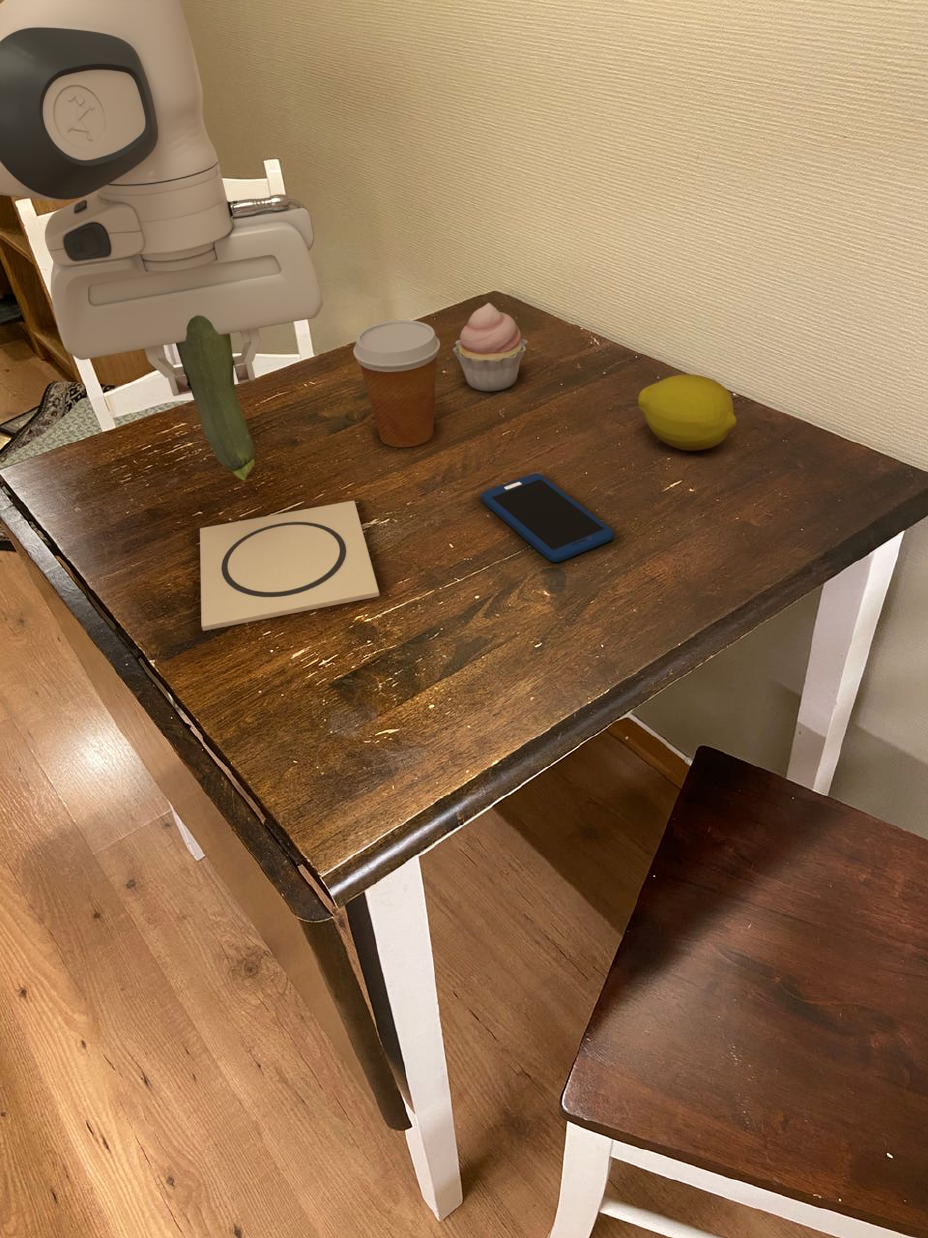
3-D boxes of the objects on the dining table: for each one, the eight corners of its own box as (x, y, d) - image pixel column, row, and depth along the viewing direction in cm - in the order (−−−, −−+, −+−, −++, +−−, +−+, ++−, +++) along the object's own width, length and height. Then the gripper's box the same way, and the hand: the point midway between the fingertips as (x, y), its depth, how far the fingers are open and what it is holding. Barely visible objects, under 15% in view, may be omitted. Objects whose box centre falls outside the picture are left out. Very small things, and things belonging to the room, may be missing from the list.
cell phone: (537, 477, 94) (536, 470, 94) (617, 539, 85) (617, 532, 84) (478, 498, 92) (477, 492, 91) (554, 565, 82) (554, 559, 82)
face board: (203, 631, 78) (200, 625, 78) (201, 532, 90) (199, 526, 90) (379, 596, 81) (378, 590, 80) (355, 504, 93) (354, 498, 92)
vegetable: (207, 482, 79) (134, 252, 66) (235, 457, 82) (169, 233, 69) (249, 489, 77) (181, 255, 64) (275, 464, 80) (216, 235, 67)
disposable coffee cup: (351, 447, 102) (335, 348, 94) (389, 410, 108) (377, 314, 101) (425, 460, 99) (415, 358, 91) (460, 421, 105) (453, 323, 97)
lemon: (746, 444, 97) (757, 376, 92) (710, 475, 93) (720, 405, 88) (661, 417, 103) (666, 352, 98) (623, 445, 98) (627, 378, 93)
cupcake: (538, 369, 114) (537, 292, 108) (513, 401, 108) (511, 322, 101) (471, 361, 117) (467, 286, 111) (444, 392, 111) (437, 314, 104)
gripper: (299, 180, 69) (328, 348, 78) (27, 220, 65) (90, 393, 74) (314, 200, 65) (342, 377, 74) (22, 245, 61) (90, 426, 70)
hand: (214, 385), depth 74 cm, fingers closed on vegetable, 4 cm apart
